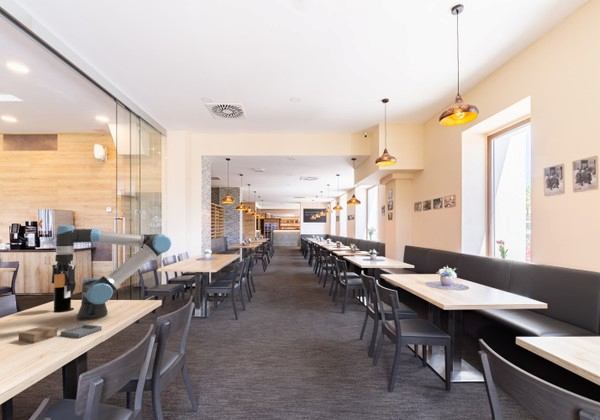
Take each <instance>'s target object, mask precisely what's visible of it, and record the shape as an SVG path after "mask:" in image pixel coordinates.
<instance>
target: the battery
mask: <svg viewBox="0 0 600 420" xmlns="http://www.w3.org/2000/svg"><path fill="white" fill-rule="evenodd" d="M68 283H69V282H68ZM65 285H66V282H65V274H64V273H60V274H54V283H53V312H54V313H56V312H60V311H66V310H69V309H71V308H72V307H71V306H72V294H71V292H70V297H68V298H64V288H65ZM60 313H61V312H60Z"/></svg>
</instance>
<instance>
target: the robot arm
mask: <svg viewBox="0 0 600 420" xmlns="http://www.w3.org/2000/svg"><path fill="white" fill-rule="evenodd" d="M55 237H56V239H55V241H56V242H55V243H56V244H55V247H56V248H55V254H56V255H55V262H56V264H52V275H51V283H50V284H54V274H60V273H64V274H65V282H66V285H65V288H64V298H68V297H70V292H71V285H72V284H74V283H76V265H73V264H72V261H73V260H74V254H73V253H74V252H75V250H74V249H75V247H74V246H75V245H74V244H75V243H77V244H78V243H94V244H95V243H97V244H106V245H107V244H108V245H117V246H128V247H137V248H138V249H140V250H138V251H137V252H136V253H135V254H133V255H131V256H130V257H129V258H128V259H127V260H126V261H124V262H123V263H122V264H120V265H119V266H118V267H117V268H116V269H114V270H113V271H112V272H110V273H109V274H108V275H102V276H101V277H93V278H84V279H83V280H82V282H81V283H82V286H81V287H82V288H81V302H80V303H81V304H80V307H79V310H78V313H77V314H76V319H77V320H79V321H89V320H97V319H101V318H105V317H107V316H108V311H109V310H108V309H107V304H106V303H107V302H108V301H110V300H111V298H112V296H113V295H114V293H116V292H117V291H118V290H119V286H120V285H121V284H122V283H124V282H125V281H126V280H127V279H129V278H130V277H131V276H132V275H133V274H134V273H136V272H137V271H138V270H139V269H141V268H142V267H143V266H144V265H145V264H147V263H148V262H149V261H150V260H151V259H153V258H154V259H155V258H156V259H157V258H158V257H159V256H160V255H161V254H164V253H166V252H168V251H169V250H170V249H171V246H172V241H171V238H170V237H169V236H168V235H166V234H164V233H153V234H147V233H146V234H143V233H141V234H140V235H139V234H131V233H122V232H114V231H106V230H105V231H104V230H100V229H98V228H80V229H79V228H75V225H58V226H57V229H56V235H55ZM68 282H69V283H68Z"/></svg>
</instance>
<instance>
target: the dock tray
mask: <svg viewBox="0 0 600 420" xmlns="http://www.w3.org/2000/svg"><path fill="white" fill-rule="evenodd" d="M102 327H103V326H102V325H95V324H87V323H84V324H83V323H82V324H80V325H77V326H74V327H70V328H68V329H67V328H66V329H65V330H61V331H60V334H59V335H60V336H61V337H68V338H76V339H80V338H83V337H86V336H89V335H92V334H94V333H95V334H96V333H97V332H100V331H102Z"/></svg>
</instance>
